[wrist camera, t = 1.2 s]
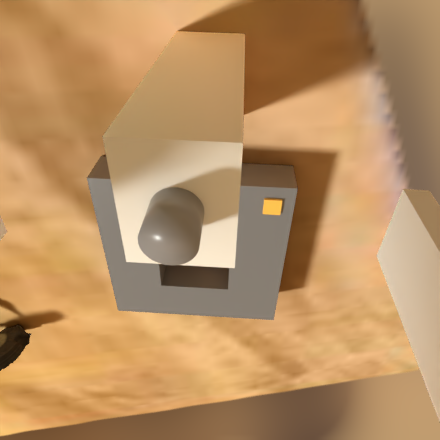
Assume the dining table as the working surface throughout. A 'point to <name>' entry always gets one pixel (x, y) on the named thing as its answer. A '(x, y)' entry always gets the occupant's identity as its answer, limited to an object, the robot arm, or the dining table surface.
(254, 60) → the dining table surface
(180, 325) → the dining table surface
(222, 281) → the socket
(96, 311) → the dining table surface
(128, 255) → the cream long rectangular block
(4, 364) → the artificial flower
